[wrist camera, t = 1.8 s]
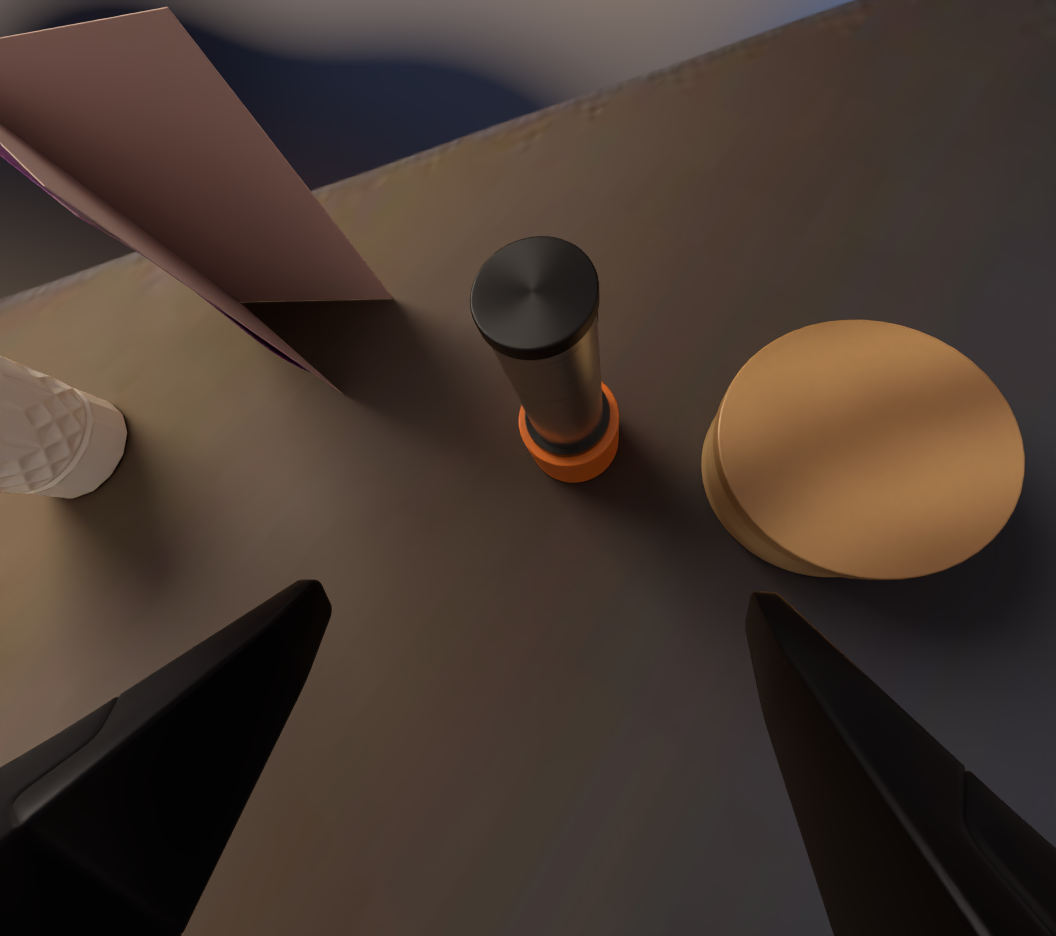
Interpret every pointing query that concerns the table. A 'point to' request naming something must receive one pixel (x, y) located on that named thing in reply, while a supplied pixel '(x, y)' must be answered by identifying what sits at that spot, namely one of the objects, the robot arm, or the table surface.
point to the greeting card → (172, 166)
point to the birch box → (863, 453)
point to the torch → (550, 352)
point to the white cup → (54, 435)
